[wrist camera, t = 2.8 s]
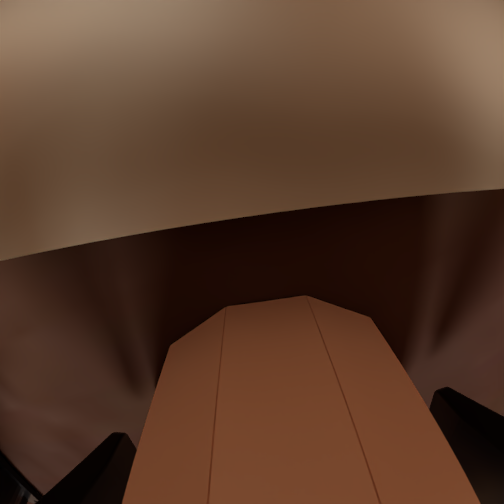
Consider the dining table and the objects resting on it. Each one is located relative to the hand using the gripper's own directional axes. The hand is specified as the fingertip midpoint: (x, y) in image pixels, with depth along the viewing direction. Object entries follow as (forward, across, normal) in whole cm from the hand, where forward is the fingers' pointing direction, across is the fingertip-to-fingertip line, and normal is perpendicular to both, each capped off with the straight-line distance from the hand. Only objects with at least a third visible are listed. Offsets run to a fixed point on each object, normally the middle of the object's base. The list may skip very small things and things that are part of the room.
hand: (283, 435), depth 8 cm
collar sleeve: (+1, 0, 0) cm, 1 cm away
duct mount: (+1, 0, -13) cm, 13 cm away
